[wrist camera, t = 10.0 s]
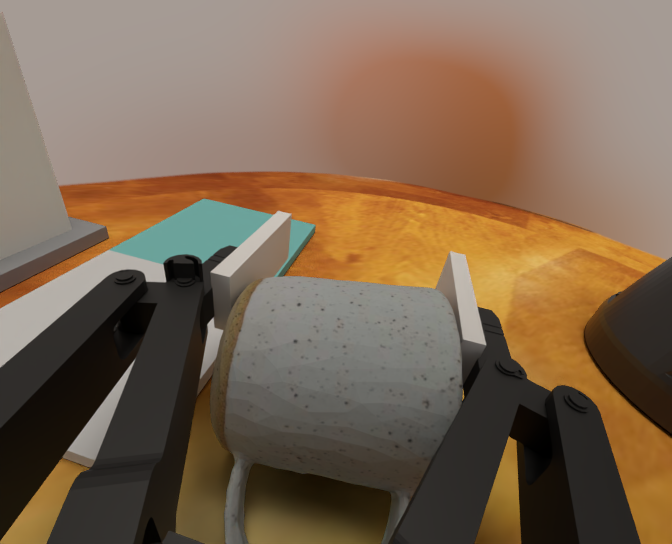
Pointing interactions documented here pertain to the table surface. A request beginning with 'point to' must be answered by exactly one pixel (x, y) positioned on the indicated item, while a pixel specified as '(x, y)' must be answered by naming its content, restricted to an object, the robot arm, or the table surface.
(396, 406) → the ceramic mug
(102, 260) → the mat
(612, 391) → the table surface
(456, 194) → the table surface
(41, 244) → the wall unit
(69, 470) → the table surface
